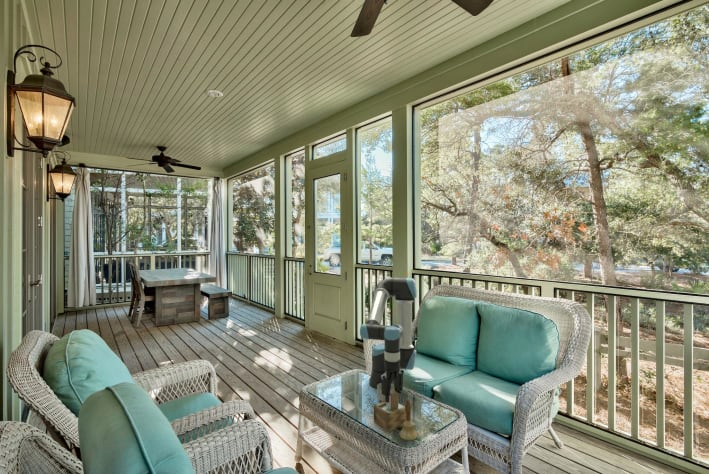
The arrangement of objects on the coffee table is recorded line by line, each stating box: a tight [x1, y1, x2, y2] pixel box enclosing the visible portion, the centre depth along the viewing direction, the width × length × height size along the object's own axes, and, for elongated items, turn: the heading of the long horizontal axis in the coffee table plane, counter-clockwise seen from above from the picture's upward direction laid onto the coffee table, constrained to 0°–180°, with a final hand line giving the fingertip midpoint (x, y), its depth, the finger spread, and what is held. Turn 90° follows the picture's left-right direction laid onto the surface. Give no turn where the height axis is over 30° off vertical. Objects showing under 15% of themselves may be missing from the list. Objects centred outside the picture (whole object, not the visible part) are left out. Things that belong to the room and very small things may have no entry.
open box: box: [373, 401, 412, 432], centre depth 167 cm, size 14×11×8 cm
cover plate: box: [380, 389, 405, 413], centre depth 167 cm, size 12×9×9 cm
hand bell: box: [398, 399, 418, 441], centre depth 156 cm, size 8×8×16 cm
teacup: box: [376, 383, 395, 403], centre depth 186 cm, size 14×11×8 cm
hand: (392, 406), depth 167 cm, fingers closed on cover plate, 4 cm apart
